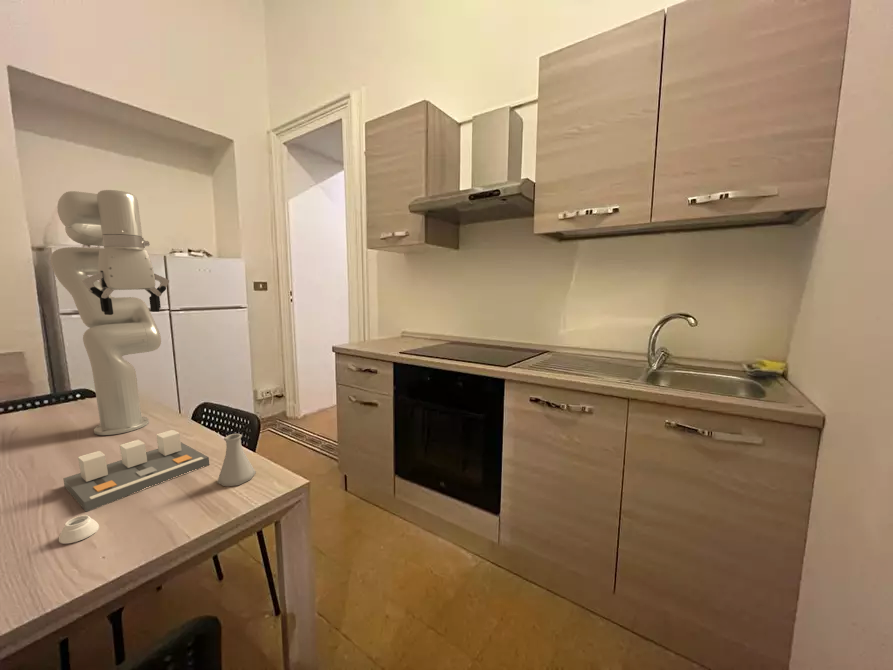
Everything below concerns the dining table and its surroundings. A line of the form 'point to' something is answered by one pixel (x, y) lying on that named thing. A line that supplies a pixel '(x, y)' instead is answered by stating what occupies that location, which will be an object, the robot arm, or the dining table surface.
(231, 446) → the flask
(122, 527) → the dining table surface
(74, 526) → the upside-down white bowl
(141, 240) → the robot arm
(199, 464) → the switch panel
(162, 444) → the cream cube
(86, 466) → the tab
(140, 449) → the tab
